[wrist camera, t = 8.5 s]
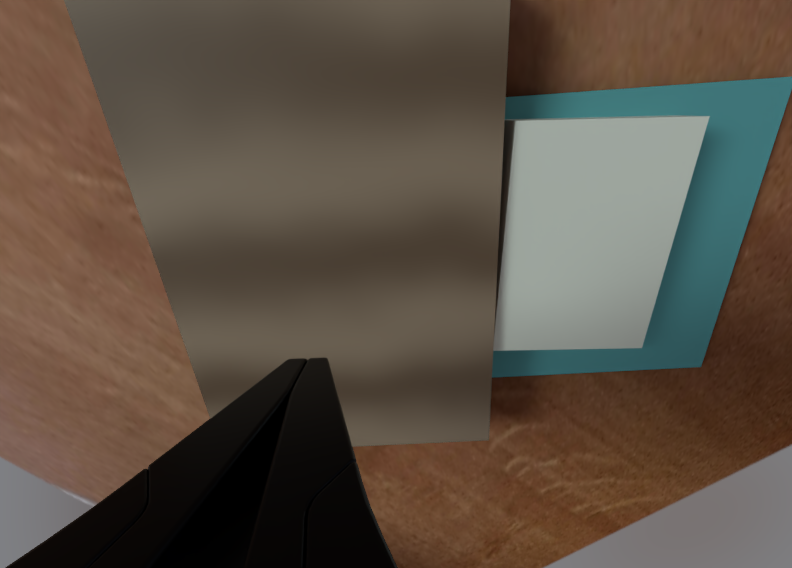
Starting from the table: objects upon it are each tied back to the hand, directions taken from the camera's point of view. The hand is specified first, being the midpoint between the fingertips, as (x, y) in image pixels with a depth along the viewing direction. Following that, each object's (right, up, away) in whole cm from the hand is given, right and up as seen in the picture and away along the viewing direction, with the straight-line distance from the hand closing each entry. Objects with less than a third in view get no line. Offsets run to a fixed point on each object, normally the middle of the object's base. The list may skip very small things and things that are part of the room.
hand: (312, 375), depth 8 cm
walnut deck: (-1, +4, +10) cm, 11 cm away
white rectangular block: (+10, +4, +9) cm, 14 cm away
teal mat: (+12, +4, +10) cm, 16 cm away
